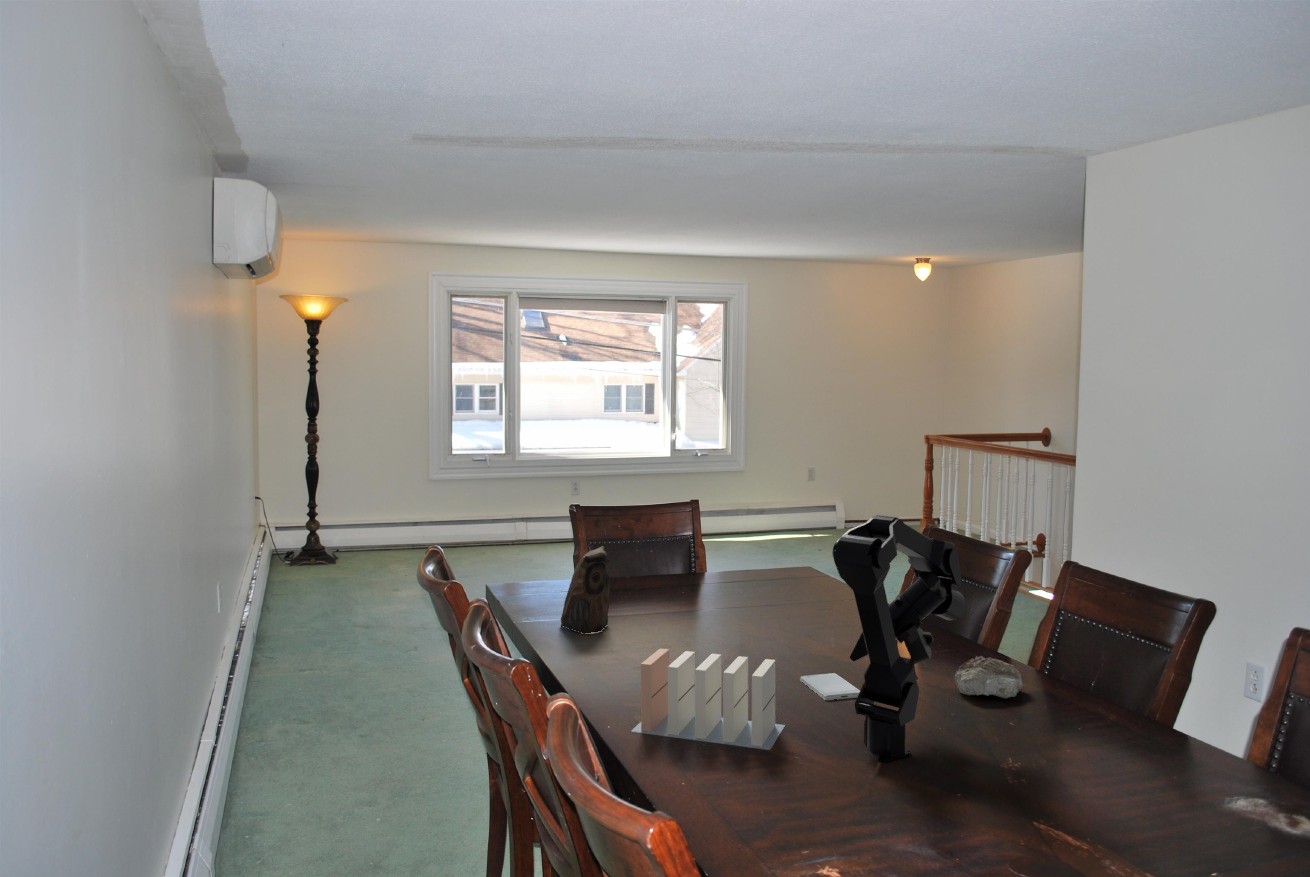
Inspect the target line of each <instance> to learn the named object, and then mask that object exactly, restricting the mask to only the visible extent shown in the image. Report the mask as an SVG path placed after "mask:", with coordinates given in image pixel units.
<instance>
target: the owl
mask: <svg viewBox="0 0 1310 877" xmlns="http://www.w3.org/2000/svg"><path fill="white" fill-rule="evenodd" d="M610 561H611V560H610V559H609V557H608V553H607V551H606V550H605V547H604V545H602V546H600V547H598V548H596V549H593V550H590V551H588V552H586V553H585V554H584V555H583V556H582V557H581V558H580V559H579V561H578V562H577V565H576V566H575V568H574V572H573V575H572V578H571V580H570V583H569V587H568V590H567V592H566V596H565V600H564V604H563V608H562V614H561V617H560V626H564V627H567V628H569V629H573V630H576V631H579V632H582V633H591V632H598V631H601V630H602V629H603V628H605V626H606V625H608V622H609V608H610V602H611V601H610V599H609V597H610V575H609V563H610ZM608 626H609V625H608ZM569 629H568V630H569ZM579 632H578V633H579Z"/></svg>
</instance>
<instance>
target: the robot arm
mask: <svg viewBox="0 0 1310 877" xmlns="http://www.w3.org/2000/svg"><path fill="white" fill-rule="evenodd" d="M898 552H900V553H901V554H903V555H906V556H907V557H908V558H907V562H908V564H910V565H911V567H913V571H914V574H915V576H916V578H918V579H916V580H914V582H912V583H911V585H909V587H907V588H906V589H905V590H904V591H902V592H900V593H898V595H896V596H895V599H894V600H893V601H891V602H890V603H889V602H888V598H887V594H886V593H887V592H886V588H885V583H884V581H886V580H885V579H886V578H887V576H888V573H889V572H890V569H891V565H890V564H891V563H892V561H893V560H894V559H895V558H897V556H898ZM832 558H833V562H834V565H835V567H836V570H837V573H838V576H839V577H840V579H842V581H843V582H844V583H845V584H846V585H847V586H848V587H849V588H850V589H851V590H852V592H853V595H854V599H855V600H854V601H855V604H856V609H857V613H858V617H859V620H860V621H859V622H860V625H861V629H862V631H861V633H860V636H859V637H858V640H857V641H856V644H855V646H854V648H853V650H852V651H851V653H850V656H849V659H850V660H851V661H852V662H856V661H858V660H860V659H863V658H864V657H866V656H868V659H869V663H868V666H867V668H866V671H865V672H864V674H863V680H864V682H863V684H862V686H861V689H859V690H860V693H859V695H858V697H857V698H856V700H855V702H854V708H855V714H856V715H859V716H860V715H862V716H865V717H864V718H865V719H864V720H863V721H864V722H863V731H864V732H863V736H864V737H863V743H864V745H865V746H866V747H867V749H868V750H869V751H870V752H872V753H873V754H876V755H879V756H878V759H877V760H878V761H880V762H883V763H888V762H891V761H895V760H899V759H902V758H906V757H908V756H912V755H913V751H911V750H910V749H907V748H906V724H907V723H910V722H912V721H914V720H915V718H916V712H917V707H918V706H917V705H918V702H919V695H920V688H919V685H918V680H919V677H918V675H917V672H916V667H915V665H916V664H919V663H922V662H925V661H928V660H931V657H932V654H933V653H932V648H931V647H930V646H931V645H932V644H933V643H934V640H935V639H934V637H933V635H932V633H931V632H930V631H924V630H923V629H922V628H921V626H922V622H923V621H924V619H925V618H927V617H928V616H929V615H930V614H933V615H935V616H937V617H940V618H942V619H944V620H946V621H955V620H958V619H960V618H961V617H962V616H963V615H964V613H965V611H966V608H967V604H966V599H965V597H964V595H963V594H962V593H961V592H960V591H959V587H960V586H961V585H962V583H963V582H962V574H961V567H960V565H961V564H960V559H959V552H958V550H957V547H956V545H955V544H954V543H953V542H951V541H945V540H941V539H933V538H930V537H928V536H926V535H924V534H923V533H921V532H920V531H918V530H916V529H914V528H913V527H911V526H909V524H906V523H905V522H904V521H903V520H902V519H901V518H899V517H896V516H889V515H888V516H887V515H880V514H877V515H874V516H872V517H870V518H869V519H868V520H867V521H866V522H864V523H861V524H859V525H857V526H855V527H852V528H850V529H848V530H847V531H846V532H845V533H844V534H842V536H841V537H839V539H837V540H836V542H835V543H834V544H833V547H832ZM898 642H899V643H900V644H902V643H904V646H905V647H906V650H907V652H908V654H909V657H910V658H909V657H904V656H901V655H900V652H899V646H898V644H899V643H898ZM875 703H879V704H883V705H887V706H890V707H894V708H898V710H897V709H896V710H895V709H894V708H893V709H892V708H890V707H889V708H888V707H884V706H881V705H877V704H875Z"/></svg>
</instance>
